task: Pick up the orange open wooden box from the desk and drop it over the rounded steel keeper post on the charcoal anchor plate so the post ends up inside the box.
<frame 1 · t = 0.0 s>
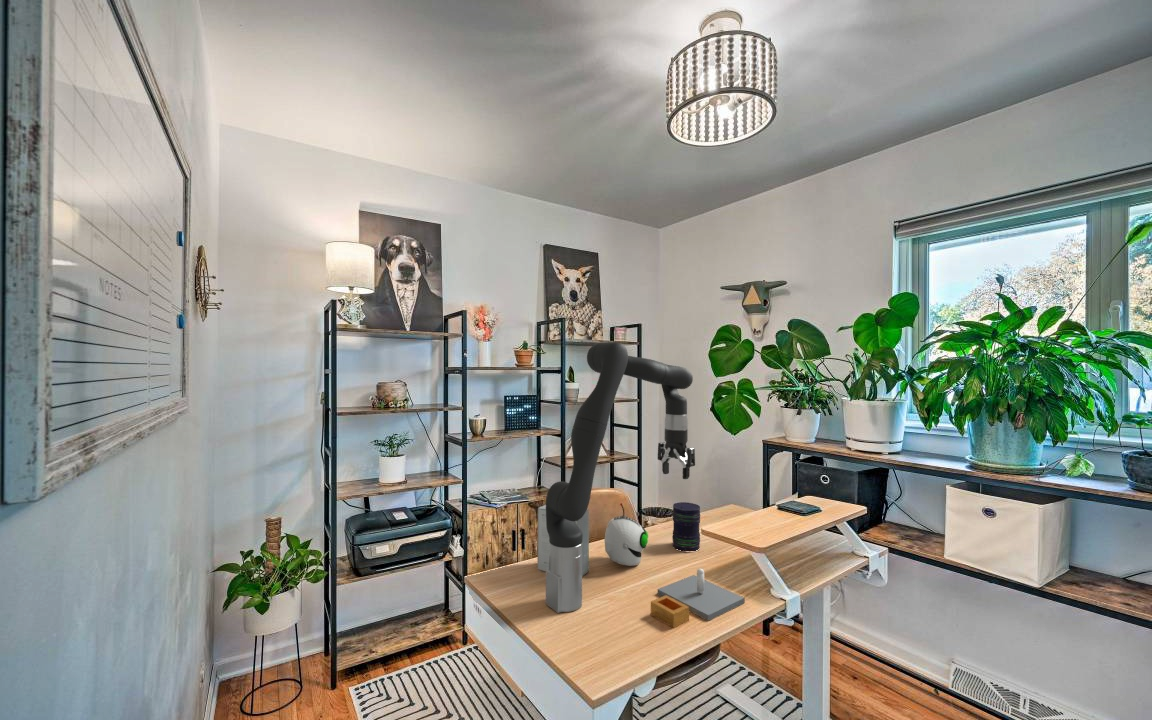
hand: (675, 476, 162), 29 cm above the table, tool pointing down, fingers open, 8 cm apart
open wooden box: (669, 617, 128), on the table
hard drive box: (562, 571, 156), on the table
storage jar: (686, 547, 177), on the table
anchor plate: (700, 598, 139), on the table
robot head: (625, 564, 162), on the table
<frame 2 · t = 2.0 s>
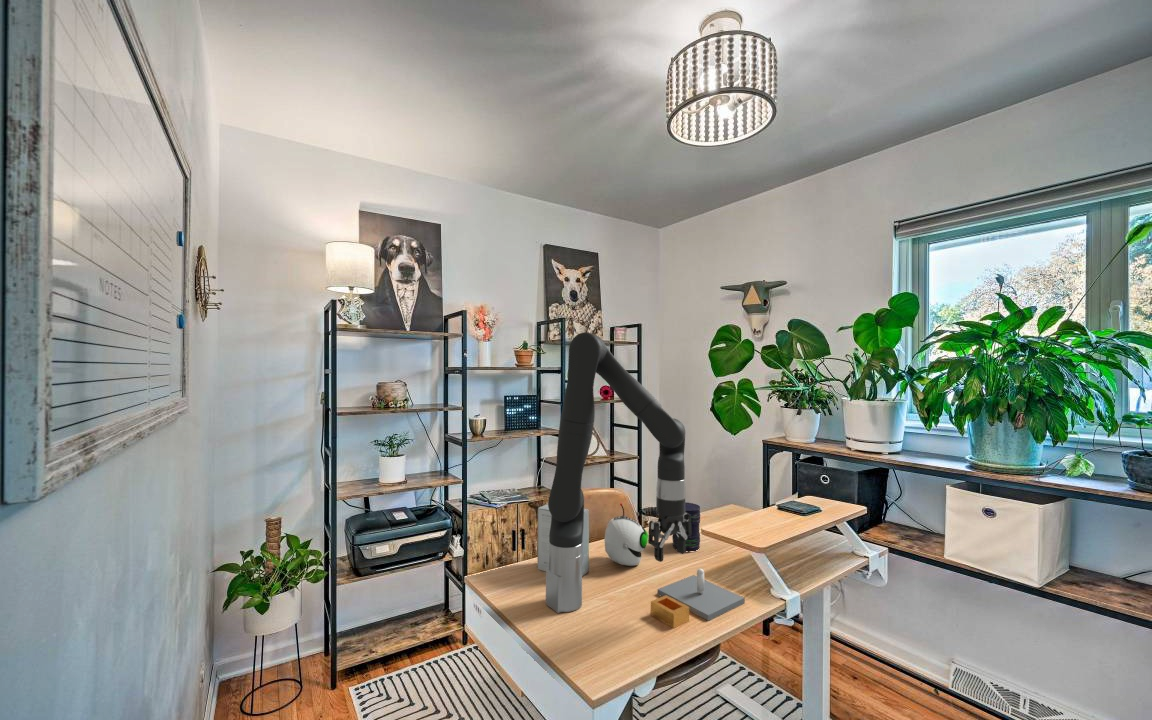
hand: (670, 556, 128), 16 cm above the table, tool pointing down, fingers open, 8 cm apart
nothing on the table moved.
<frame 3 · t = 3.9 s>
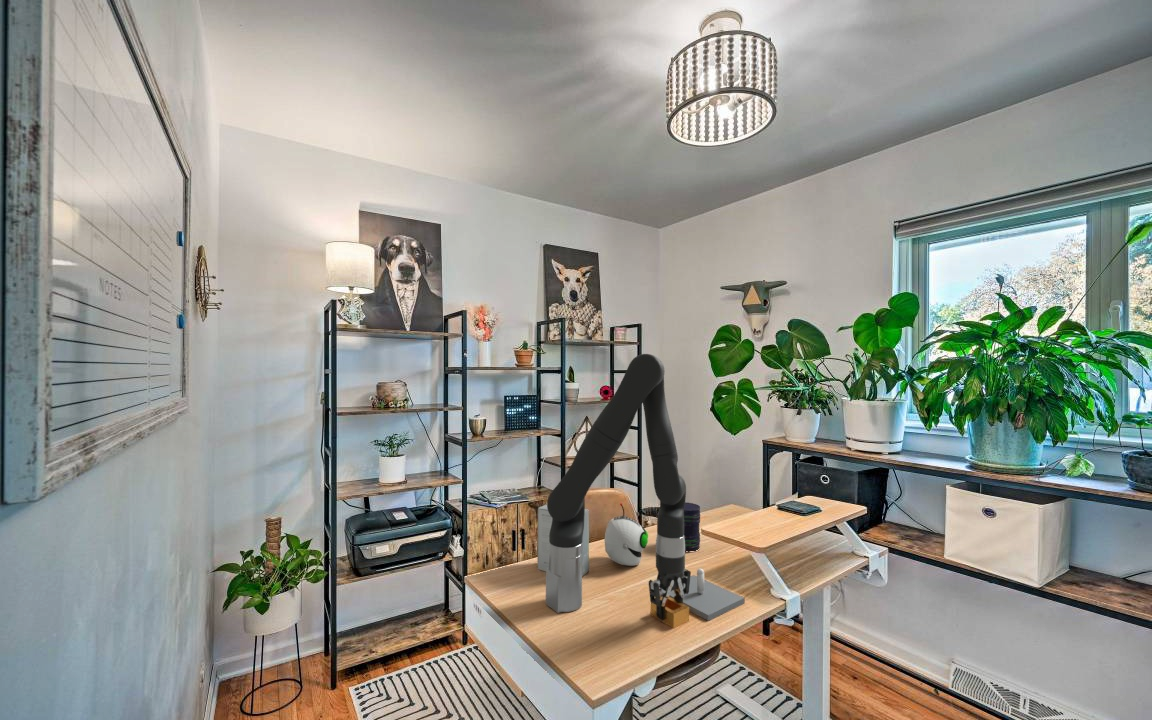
hand: (669, 614, 128), 1 cm above the table, tool pointing down, fingers closed on open wooden box, 6 cm apart
open wooden box: (669, 617, 128), on the table, touching gripper
everything else where it was.
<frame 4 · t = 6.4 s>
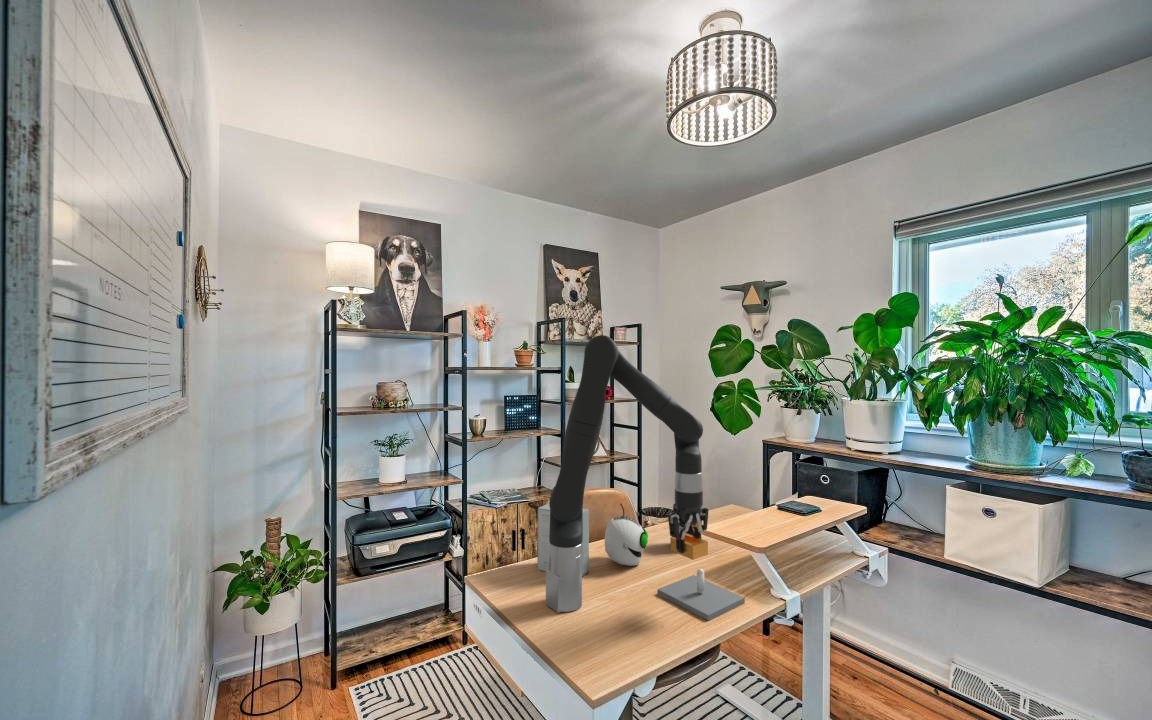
hand: (689, 549, 133), 16 cm above the table, tool pointing down, fingers closed on open wooden box, 6 cm apart
open wooden box: (688, 552, 133), point 15 cm above the table, touching gripper
everything else where it was.
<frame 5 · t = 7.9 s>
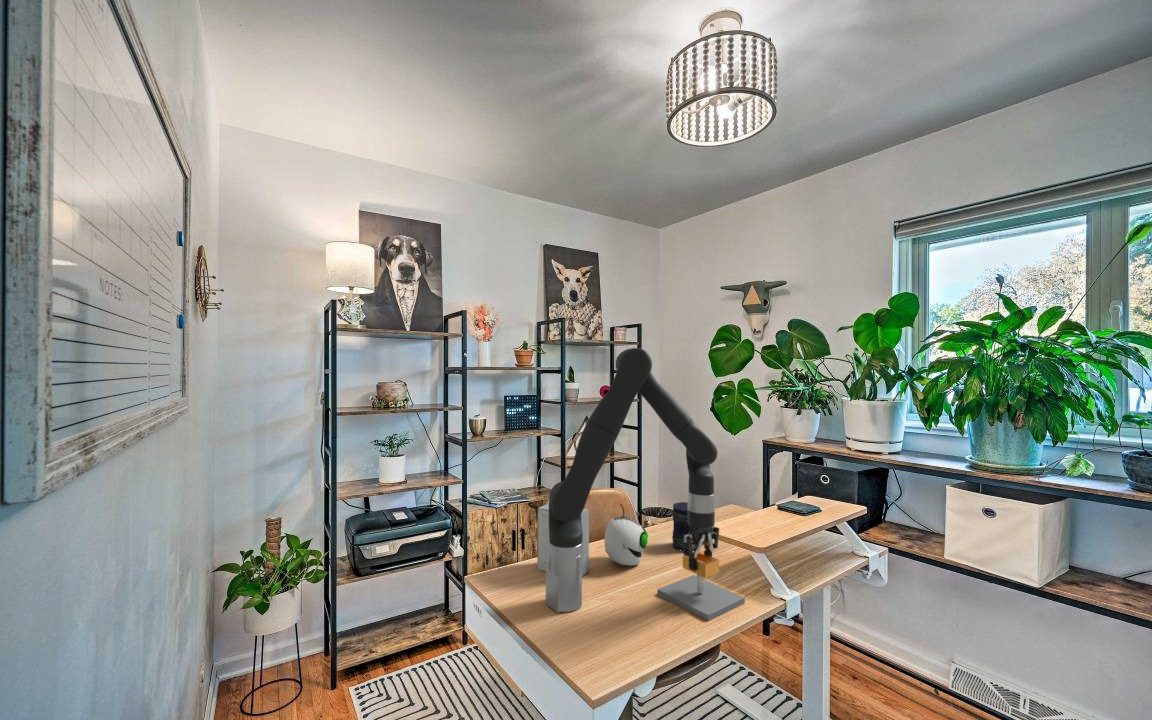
hand: (700, 567, 139), 9 cm above the table, tool pointing down, fingers closed on open wooden box, 6 cm apart
open wooden box: (700, 570, 139), point 8 cm above the table, touching gripper
everything else where it was.
when the fingers open (5 cm above the table, at t = 9.3 s): open wooden box drops 2 cm, resting on anchor plate.
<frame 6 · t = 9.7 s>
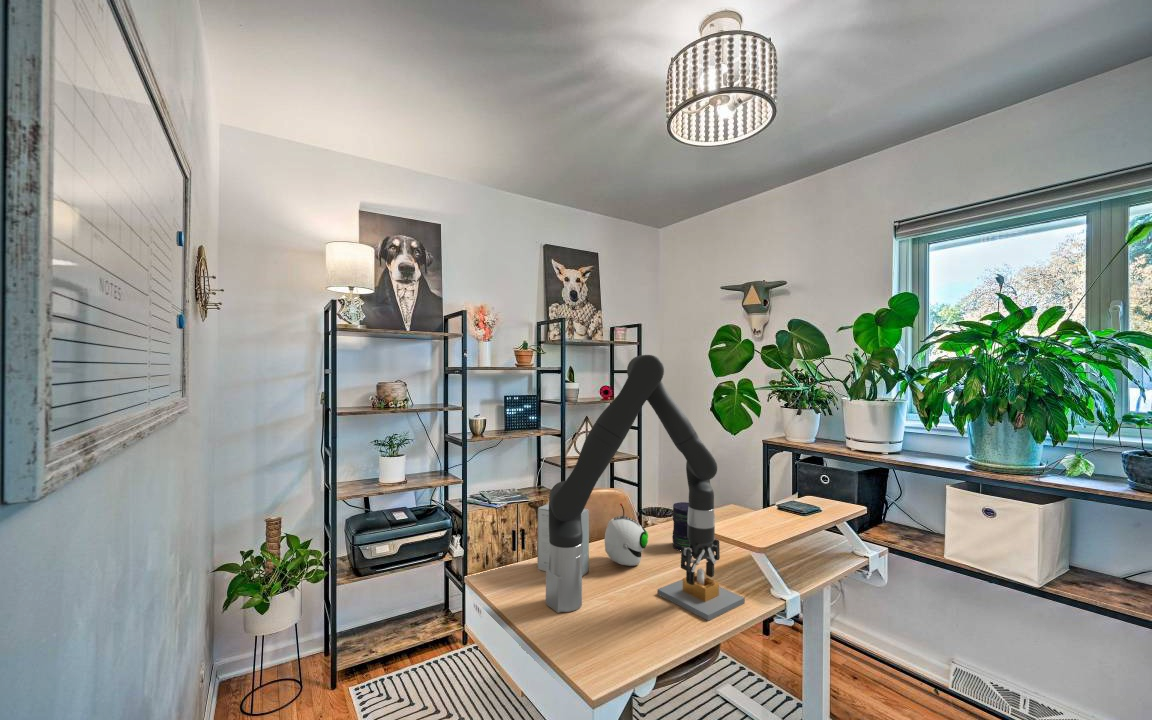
hand: (700, 579, 139), 5 cm above the table, tool pointing down, fingers open, 8 cm apart
open wooden box: (700, 593, 139), point 1 cm above the table, touching anchor plate
everything else where it was.
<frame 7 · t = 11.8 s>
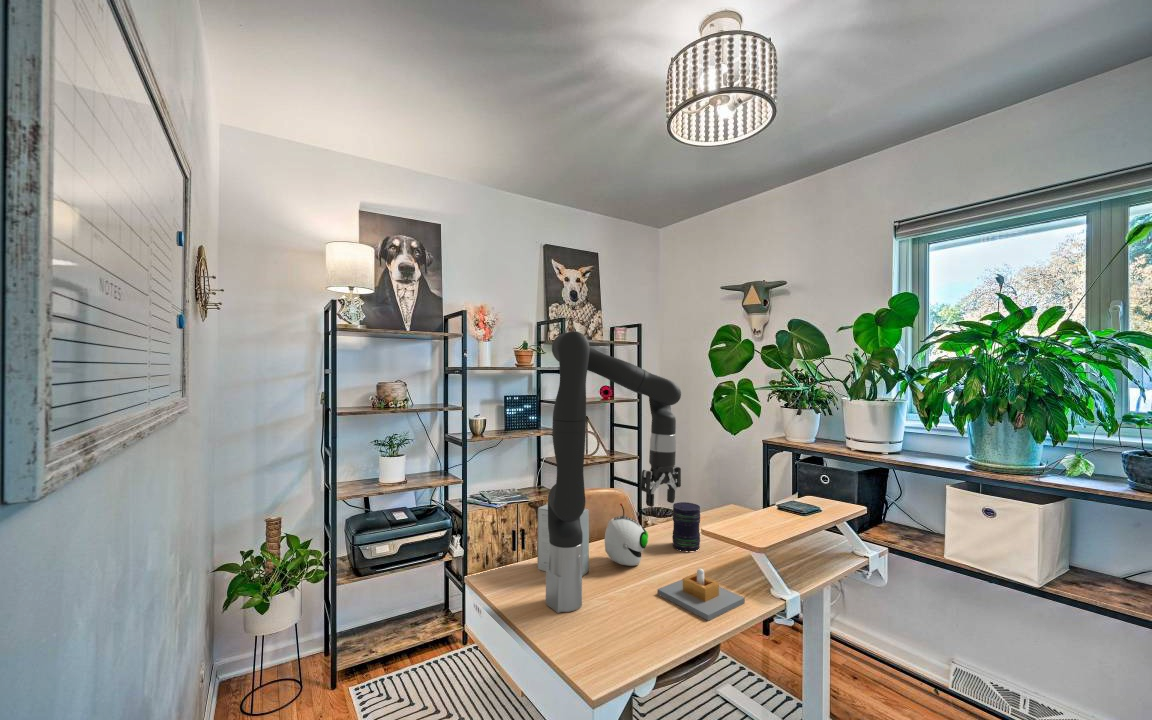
hand: (660, 504, 143), 26 cm above the table, tool pointing down, fingers open, 8 cm apart
nothing on the table moved.
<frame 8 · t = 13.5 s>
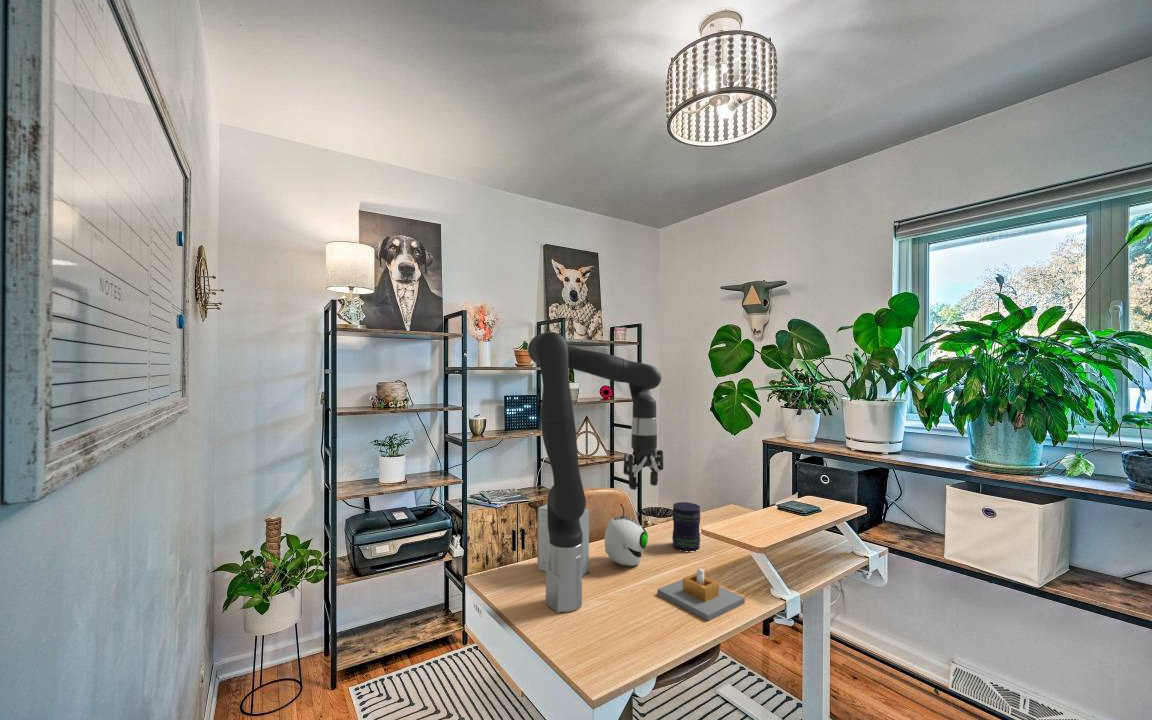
hand: (643, 487, 145), 30 cm above the table, tool pointing down, fingers open, 8 cm apart
nothing on the table moved.
at the end: open wooden box 0.1 cm from the anchor plate (horizontally); open wooden box point 1.5 cm above the table; the gripper is holding nothing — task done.
